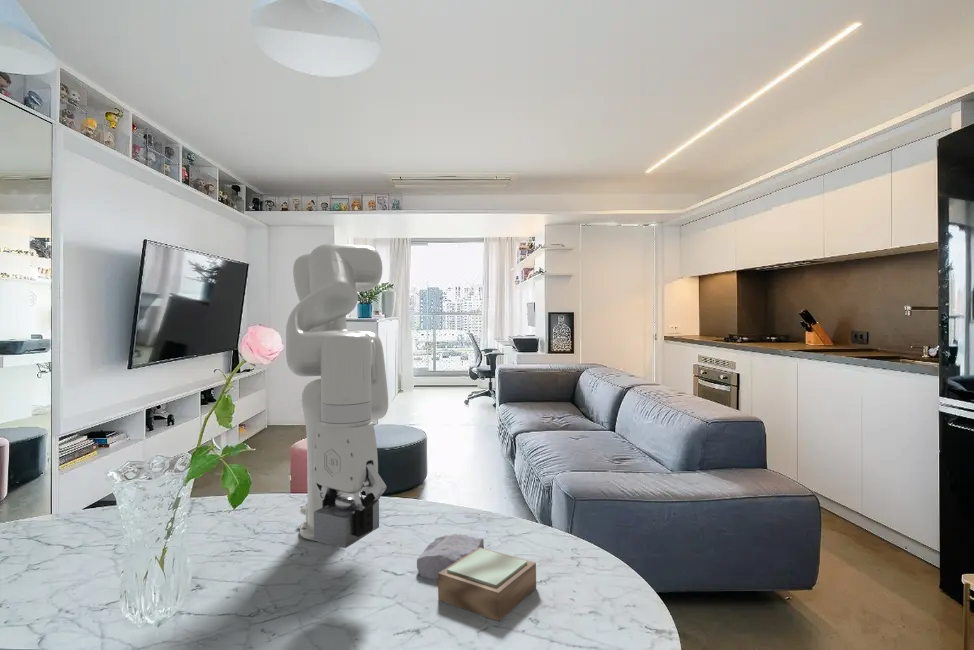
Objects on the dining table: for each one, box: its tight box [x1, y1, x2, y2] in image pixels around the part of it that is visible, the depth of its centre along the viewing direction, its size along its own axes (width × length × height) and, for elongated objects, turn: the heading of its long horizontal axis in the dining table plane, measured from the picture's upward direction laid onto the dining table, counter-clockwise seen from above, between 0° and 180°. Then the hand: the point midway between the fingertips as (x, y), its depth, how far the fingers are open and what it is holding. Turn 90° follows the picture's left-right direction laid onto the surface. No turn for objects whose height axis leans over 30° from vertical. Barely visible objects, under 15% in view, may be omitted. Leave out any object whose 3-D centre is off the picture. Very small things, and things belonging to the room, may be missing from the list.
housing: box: [313, 494, 380, 549], centre depth 79 cm, size 6×8×6 cm
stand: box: [437, 547, 537, 622], centre depth 79 cm, size 11×11×4 cm
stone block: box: [416, 533, 485, 580], centre depth 90 cm, size 12×5×10 cm
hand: (347, 526), depth 79 cm, fingers closed on housing, 6 cm apart
